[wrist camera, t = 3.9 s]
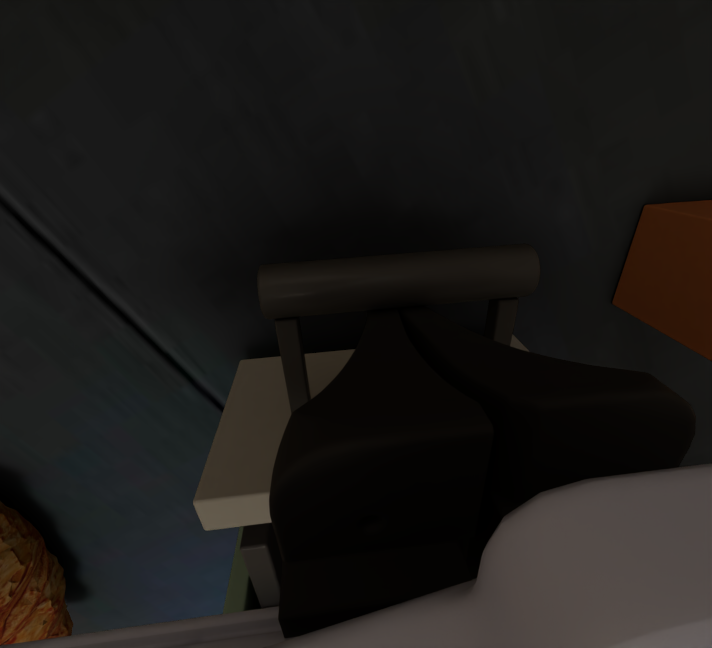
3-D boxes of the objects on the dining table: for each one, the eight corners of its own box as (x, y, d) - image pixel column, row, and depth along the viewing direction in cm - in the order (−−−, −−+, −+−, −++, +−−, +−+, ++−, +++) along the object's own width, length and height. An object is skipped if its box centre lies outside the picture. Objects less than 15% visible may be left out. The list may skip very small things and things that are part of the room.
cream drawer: (208, 236, 12) (113, 326, 6) (535, 212, 12) (709, 274, 7) (290, 560, 21) (281, 710, 15) (474, 536, 22) (527, 671, 16)
